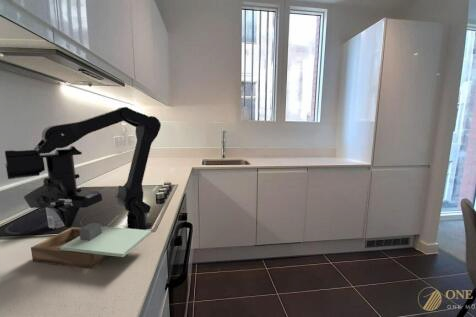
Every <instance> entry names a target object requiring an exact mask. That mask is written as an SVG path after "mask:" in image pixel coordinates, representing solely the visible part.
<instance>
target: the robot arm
mask: <svg viewBox="0 0 476 317" xmlns="http://www.w3.org/2000/svg"><path fill="white" fill-rule="evenodd" d="M121 122H125V123H127V124H129V125H130V126H133V127H135V136H136V143H135V144H136V145H135V147H134V152H133V156H132V158H131V159H132V160H131V164H130V168H129V172H128V175H127V176H128V177H127V180H126V182H125V183H124V185H118V189H117V195H116V196H115V198H117V199H116V200H117V203H118V205H119V206H120V207H121V208H124V210H125V211H127V213H126V217H127V220H126V223H127V228H128V229H139V230H145V229H146V230H148V228H150V227H151V226H152V225H153V224H152V223H151V222H148V213H150V211H151V205H149V204H148V203H146V202H145V201H144V189H143V180H144V176H145V172H146V168H147V164H148V159H149V157H150V156H149V155H150V152H151V148H152V144H153V142H154V141H155V139H156V138H157V137H158V134H159V132H160V131H161V130H160V129H161V128H162V126H161V125H162V123H161V121H160V120H159V118H158V117H156V116H154V115H153V116H151V115H149V116H148V115H147V114H145V113H142V112H139V111H137V110H133V109H131V108H130V107H129V106H125V107H124V106H122V107H117V108H116V109H115V110H111V111H108V112H105V113H101V114H99V115H95V116H93V117H90V118H87V119H84V120H80V121H76V122H75V121H74V122H70V123H63V124H55V125H51V126H47V127H45V128H44V129H43V130H42V132H41V140H40V141H39V142H38V143H37V145H35V147H34V148H33V149H26V150H25V149H24V150H23V149H21V150H14V149H13V150H11V149H10V150H8V149H7V150H5V151H4V154H5V170H6V177H7V180H15V179H21V178H30V177H38V176H40V173H43V172H45V162H46V168H47V175H48V176H47V177H44V178H43V180H42V181H43V185H41V186H39V187H37V188H36V189H33V190H32V191H30V192H29V193H27V194H25V195H24V197H23V199H24V200H25V202H26V204H27V205H28V206H29V208H30V209H33V208H34V209H35V208H36V209H40V210H41V209H42V210H43V209H46V208H50V209H53V210H55V211H56V213H57V214H58V215H59V217H60V219H61V220H62V222H63V223H64V225H65V226H64V227H65V228H67V229H69V228H71V227H73V226H72V225H73V224H74V221H75V219H76V216H77V214H78V212H79V211H80V208H81V209H84V208H85V209H86V208H88V207H90V206H93V205H96V204H97V203H100V202H102V201H103V194H102V193H101V192H100V191H99V190H98V191H97V190H95V191H94V190H87V191H84V192H82V188H80V187H78V185H77V179H80V177H81V176H80V174H79V173H76V171H75V170H76V169H75V160H74V156H77V155H82V154H83V153H82V151H80V150H78V149H77V148H76V146H74V145H72V144H75V143H76V142H78V141H79V140H80V139H82V138H84V137H85V136H87V135H88V134H91V133H94V132H97V131H99V130H102V129H105V128H108V127H110V126H113V125H115V124H119V123H121ZM70 145H71V146H70ZM69 146H70V147H69ZM67 147H69V148H67ZM65 148H66V149H65ZM54 150H55V151H54ZM53 151H54V152H55V153H51V152H53ZM44 158H45V162H44Z"/></svg>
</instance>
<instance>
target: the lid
mask: <svg viewBox="0 0 476 317" xmlns="http://www.w3.org/2000/svg"><path fill="white" fill-rule="evenodd" d="M80 228H81V229H79V231H80V236H79V237H77V238H75V239H74V240H72V241H70V242H68V243H66V244H65V245H63V246H61V247H60V249H61V250H66V251H74V252H83V253H92V254H101V255H109V256H112V257H121V258H124V257H125V256H126V255H127V254H129V253H130V252H131V251H133V250H134V248H136V247H137V246H138V245H139V244H140V243H142V242H143V241H144V240H146V239H147V238H148V237H149V236H150V235H151V234H152V230H150V229H149V230H148V229H146V230H139V229H128V227H115V226H114V227H113V226H103V225H102V224H101V222H98V223H97V222H90V223H88V224H87V225H84V226H83V227H80Z"/></svg>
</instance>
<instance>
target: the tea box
mask: <svg viewBox="0 0 476 317" xmlns="http://www.w3.org/2000/svg"><path fill="white" fill-rule="evenodd" d="M81 228H82V227H79V226H78V227H77V226H71V227H69V228H67V229H65V230H63V231H61V232H59V233H57V234H55V235H53V236H51V237H49V238H47V239H45V240H43V241H41V242H38V243H37V244H35V245H33V246H31V247H30V252H31V258H32V262H34V263H42V264H50V265H56V266H57V265H58V266H63V267H65V266H66V267H72V268H73V267H74V268H82V269H88V270H89V269H90V270H92V269H93V268H95V267H97V266H98V265H99V264H100V263H101V262H102V261H104V260H105V259H106V258H108V257H109V256H110V255H101V254H92V253H83V252H74V251H66V250H61V249H60V247H61V246H63V245H65V244H66V243H68V242H70V241H72V240H74V239H75V238H77V237H79V236H80V231H79V229H81Z"/></svg>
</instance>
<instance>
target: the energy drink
mask: <svg viewBox="0 0 476 317" xmlns="http://www.w3.org/2000/svg"><path fill="white" fill-rule="evenodd" d="M45 210H46V211H45V212H46V217H47V218H46V219H47V226H48V228H49V229H51V228H52V230H53V229H54V230H55V228H56V229H60V228H63V227H65V225H64V223H63V222H62V220H61V219H60V217H59V215H58V214H57V213H56V211H55V210H53V209H50V208H45Z"/></svg>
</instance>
